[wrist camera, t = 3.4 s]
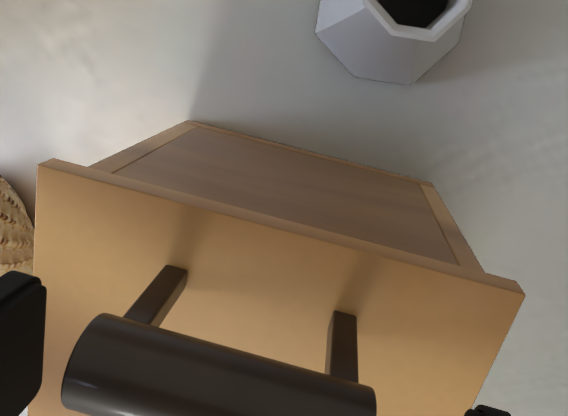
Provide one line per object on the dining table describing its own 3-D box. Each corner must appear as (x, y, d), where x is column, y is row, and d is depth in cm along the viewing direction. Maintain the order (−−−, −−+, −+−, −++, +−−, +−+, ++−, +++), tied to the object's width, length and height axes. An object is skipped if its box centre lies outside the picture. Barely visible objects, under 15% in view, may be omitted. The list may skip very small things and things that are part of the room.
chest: (187, 119, 26) (53, 182, 14) (432, 182, 25) (505, 303, 13) (151, 349, 31) (35, 530, 20) (351, 405, 31) (353, 626, 19)
